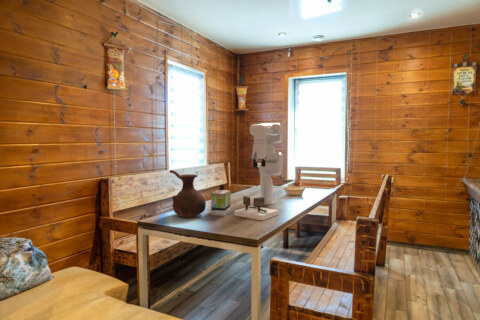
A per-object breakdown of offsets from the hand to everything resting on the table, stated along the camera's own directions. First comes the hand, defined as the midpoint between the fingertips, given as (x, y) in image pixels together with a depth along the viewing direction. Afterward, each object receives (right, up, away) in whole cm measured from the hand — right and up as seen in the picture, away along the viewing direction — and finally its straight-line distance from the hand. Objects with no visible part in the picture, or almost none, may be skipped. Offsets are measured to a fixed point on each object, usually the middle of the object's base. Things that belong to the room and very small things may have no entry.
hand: (259, 167), depth 218 cm
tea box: (-26, -31, -5) cm, 41 cm away
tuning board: (-3, -31, -11) cm, 33 cm away
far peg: (-6, -28, -8) cm, 29 cm away
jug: (-47, -32, -12) cm, 58 cm away
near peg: (+1, -28, -15) cm, 32 cm away
